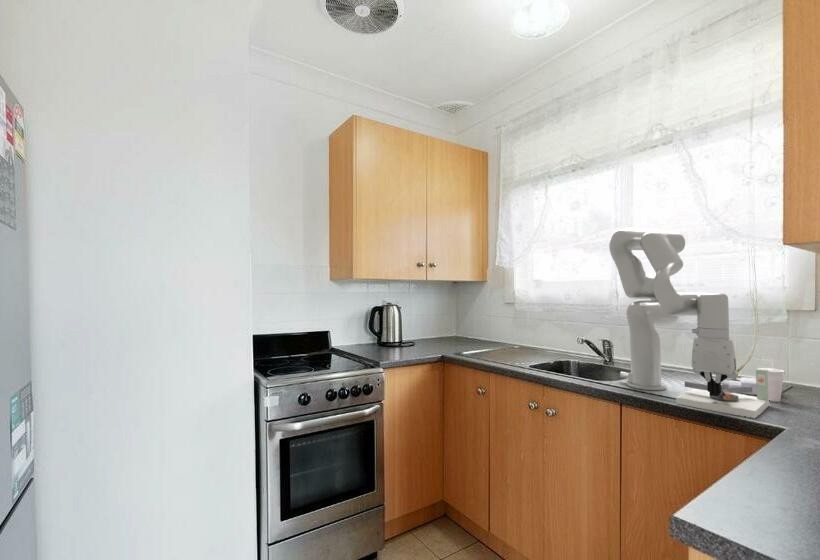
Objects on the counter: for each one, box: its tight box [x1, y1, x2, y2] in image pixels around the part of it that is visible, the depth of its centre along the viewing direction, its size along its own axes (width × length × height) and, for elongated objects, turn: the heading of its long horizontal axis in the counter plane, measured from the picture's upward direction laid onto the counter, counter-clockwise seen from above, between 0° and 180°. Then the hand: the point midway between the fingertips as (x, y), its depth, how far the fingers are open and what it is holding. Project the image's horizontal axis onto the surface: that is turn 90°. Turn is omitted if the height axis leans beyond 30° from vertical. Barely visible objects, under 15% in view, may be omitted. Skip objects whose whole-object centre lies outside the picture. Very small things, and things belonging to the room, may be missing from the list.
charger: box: [721, 376, 757, 396], centre depth 136 cm, size 5×9×15 cm
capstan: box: [684, 380, 752, 401], centre depth 120 cm, size 17×15×4 cm
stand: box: [675, 367, 770, 419], centre depth 122 cm, size 19×19×11 cm
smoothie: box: [759, 355, 786, 403], centre depth 126 cm, size 6×6×14 cm
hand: (714, 395), depth 118 cm, fingers closed
